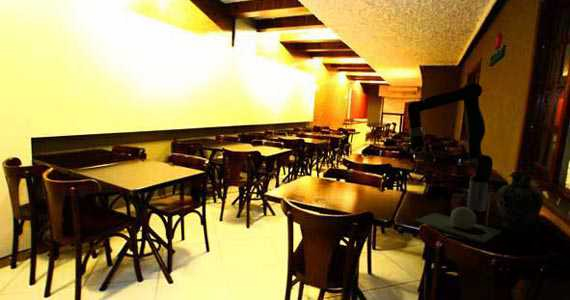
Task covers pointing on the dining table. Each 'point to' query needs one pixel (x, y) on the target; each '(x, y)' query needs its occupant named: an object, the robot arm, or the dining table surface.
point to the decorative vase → (519, 202)
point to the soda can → (458, 201)
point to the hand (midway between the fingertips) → (419, 161)
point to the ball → (463, 218)
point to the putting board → (446, 225)
